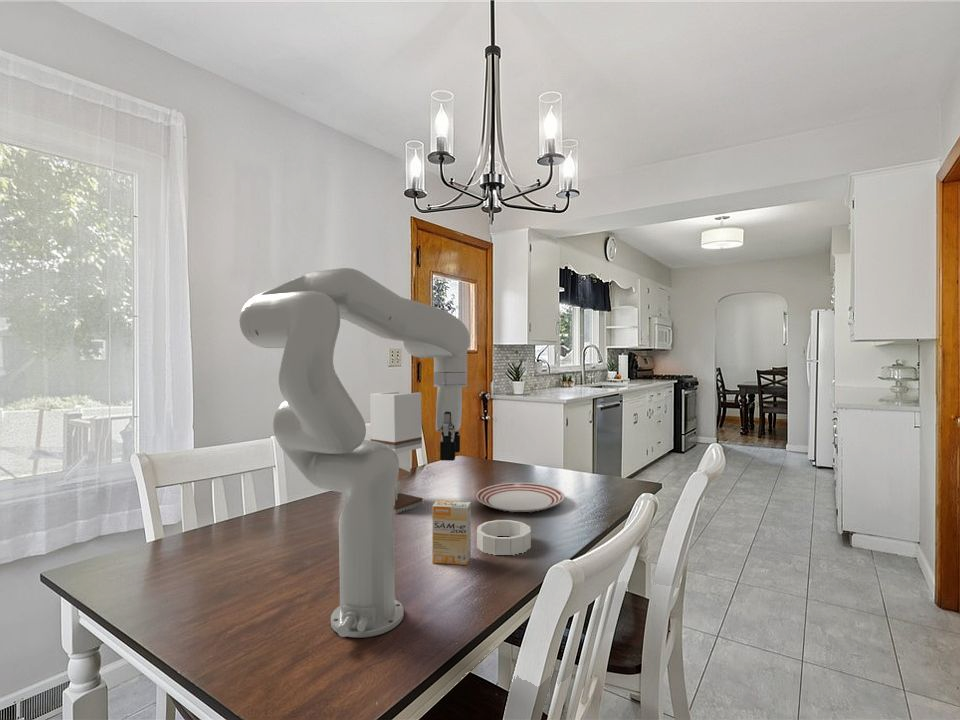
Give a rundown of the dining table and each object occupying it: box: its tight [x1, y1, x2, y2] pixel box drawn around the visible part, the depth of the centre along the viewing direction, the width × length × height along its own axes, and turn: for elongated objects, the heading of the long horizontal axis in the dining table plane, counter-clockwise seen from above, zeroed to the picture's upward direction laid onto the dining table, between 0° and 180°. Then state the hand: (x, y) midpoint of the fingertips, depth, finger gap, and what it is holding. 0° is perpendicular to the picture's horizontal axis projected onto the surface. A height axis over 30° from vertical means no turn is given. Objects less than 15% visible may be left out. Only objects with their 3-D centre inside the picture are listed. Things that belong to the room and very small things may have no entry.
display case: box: [369, 390, 424, 515], centre depth 156 cm, size 11×11×35 cm
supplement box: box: [431, 499, 472, 566], centre depth 114 cm, size 8×5×13 cm, turn 81°
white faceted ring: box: [476, 519, 532, 556], centre depth 123 cm, size 13×13×4 cm
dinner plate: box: [475, 482, 565, 513], centre depth 157 cm, size 27×27×3 cm
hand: (450, 456), depth 114 cm, fingers open, 9 cm apart
